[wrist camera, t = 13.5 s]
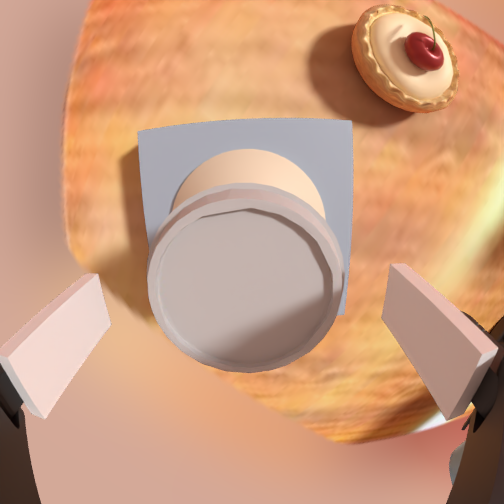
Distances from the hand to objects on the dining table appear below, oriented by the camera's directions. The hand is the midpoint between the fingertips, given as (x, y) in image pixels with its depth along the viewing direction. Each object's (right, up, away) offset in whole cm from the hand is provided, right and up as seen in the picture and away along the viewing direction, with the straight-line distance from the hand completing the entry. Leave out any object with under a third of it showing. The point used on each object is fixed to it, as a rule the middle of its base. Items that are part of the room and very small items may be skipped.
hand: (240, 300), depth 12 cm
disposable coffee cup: (0, +4, +12) cm, 12 cm away
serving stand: (0, +5, +16) cm, 17 cm away
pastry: (+16, +22, +10) cm, 29 cm away
